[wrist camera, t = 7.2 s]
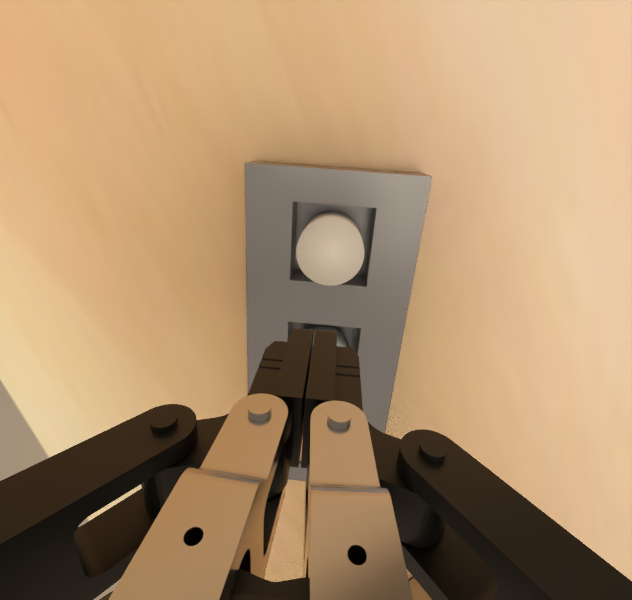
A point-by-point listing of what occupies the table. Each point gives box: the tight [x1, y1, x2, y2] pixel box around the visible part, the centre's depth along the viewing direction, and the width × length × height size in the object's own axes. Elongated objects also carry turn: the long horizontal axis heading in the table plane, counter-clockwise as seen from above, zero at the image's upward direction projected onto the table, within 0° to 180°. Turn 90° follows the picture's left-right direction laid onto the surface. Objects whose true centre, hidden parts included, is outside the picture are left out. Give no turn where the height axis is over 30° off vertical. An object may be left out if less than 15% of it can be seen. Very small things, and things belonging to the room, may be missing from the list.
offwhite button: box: [296, 211, 364, 286], centre depth 25 cm, size 4×4×3 cm
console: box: [245, 161, 432, 481], centre depth 30 cm, size 12×28×3 cm, turn 176°
